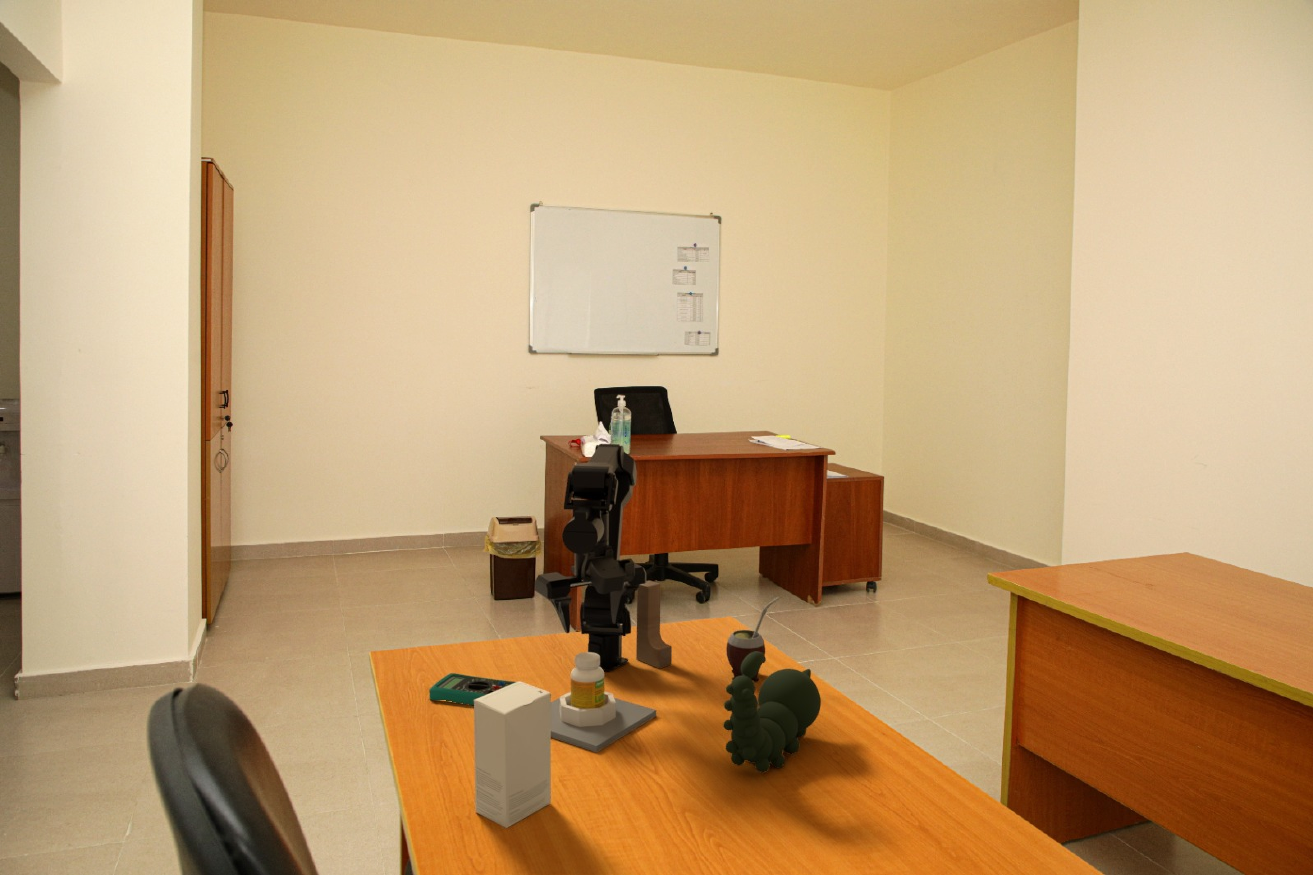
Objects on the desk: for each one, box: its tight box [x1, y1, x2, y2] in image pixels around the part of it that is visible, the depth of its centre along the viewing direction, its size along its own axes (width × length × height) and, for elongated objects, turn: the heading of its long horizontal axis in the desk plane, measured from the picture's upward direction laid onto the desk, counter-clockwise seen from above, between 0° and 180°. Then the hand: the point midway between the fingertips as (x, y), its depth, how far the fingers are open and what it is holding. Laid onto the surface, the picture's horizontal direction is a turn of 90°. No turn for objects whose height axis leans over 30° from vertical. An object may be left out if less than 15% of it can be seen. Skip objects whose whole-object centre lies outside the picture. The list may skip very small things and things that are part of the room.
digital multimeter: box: [428, 672, 517, 706], centre depth 155 cm, size 7×15×3 cm, turn 73°
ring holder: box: [551, 690, 657, 753], centre depth 146 cm, size 16×16×4 cm
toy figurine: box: [723, 651, 822, 773], centre depth 135 cm, size 9×19×25 cm
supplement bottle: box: [570, 651, 605, 709], centre depth 145 cm, size 5×5×10 cm
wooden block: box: [635, 580, 673, 669], centre depth 172 cm, size 7×3×15 cm, turn 43°
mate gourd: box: [725, 597, 780, 683], centre depth 165 cm, size 8×8×15 cm
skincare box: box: [473, 680, 552, 829], centre depth 118 cm, size 8×7×16 cm
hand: (591, 627), depth 155 cm, fingers open, 9 cm apart
